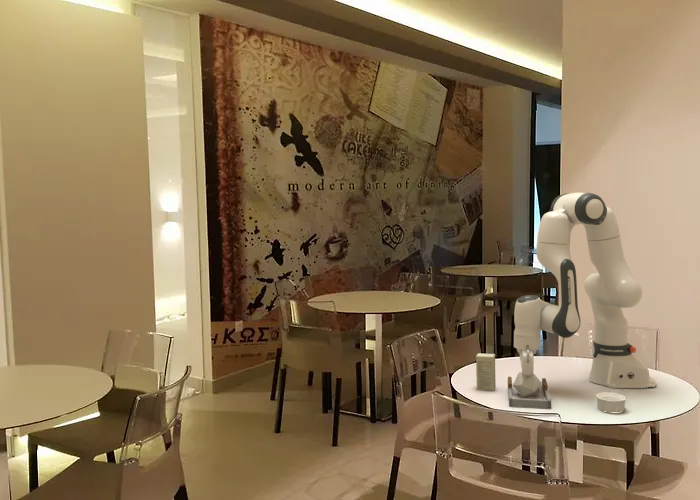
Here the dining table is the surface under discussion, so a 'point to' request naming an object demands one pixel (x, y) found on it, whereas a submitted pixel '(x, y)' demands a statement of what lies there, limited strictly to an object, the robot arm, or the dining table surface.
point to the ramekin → (610, 402)
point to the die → (527, 385)
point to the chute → (544, 384)
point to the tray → (529, 401)
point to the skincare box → (485, 371)
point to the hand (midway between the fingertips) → (526, 381)
